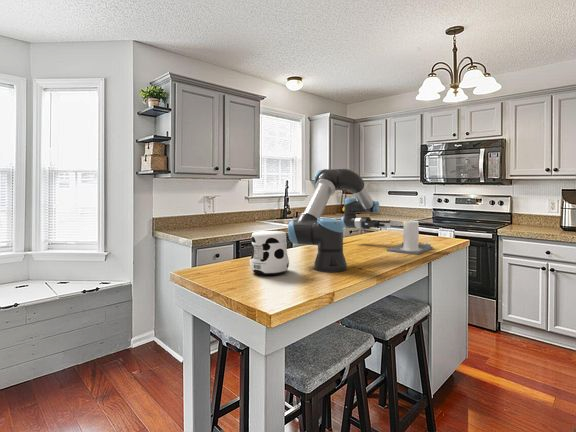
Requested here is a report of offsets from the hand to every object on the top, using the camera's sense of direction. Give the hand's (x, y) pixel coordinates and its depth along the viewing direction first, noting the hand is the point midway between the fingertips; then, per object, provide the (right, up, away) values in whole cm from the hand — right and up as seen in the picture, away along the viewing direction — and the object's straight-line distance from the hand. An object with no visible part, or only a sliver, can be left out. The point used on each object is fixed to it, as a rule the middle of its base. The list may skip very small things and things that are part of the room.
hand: (395, 224), depth 209 cm
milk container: (-72, -21, -51) cm, 91 cm away
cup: (+7, -14, -6) cm, 17 cm away
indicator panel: (+9, -15, -1) cm, 17 cm away
